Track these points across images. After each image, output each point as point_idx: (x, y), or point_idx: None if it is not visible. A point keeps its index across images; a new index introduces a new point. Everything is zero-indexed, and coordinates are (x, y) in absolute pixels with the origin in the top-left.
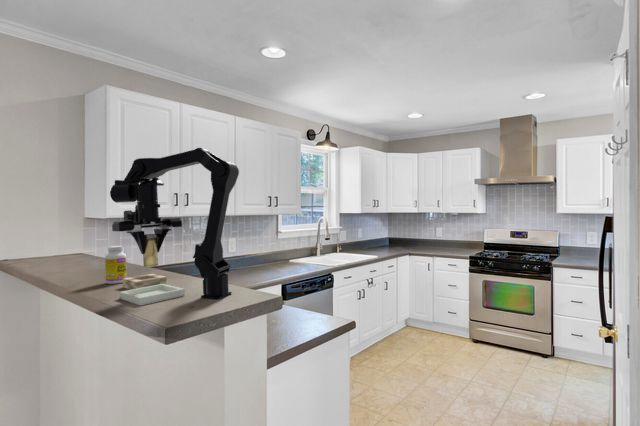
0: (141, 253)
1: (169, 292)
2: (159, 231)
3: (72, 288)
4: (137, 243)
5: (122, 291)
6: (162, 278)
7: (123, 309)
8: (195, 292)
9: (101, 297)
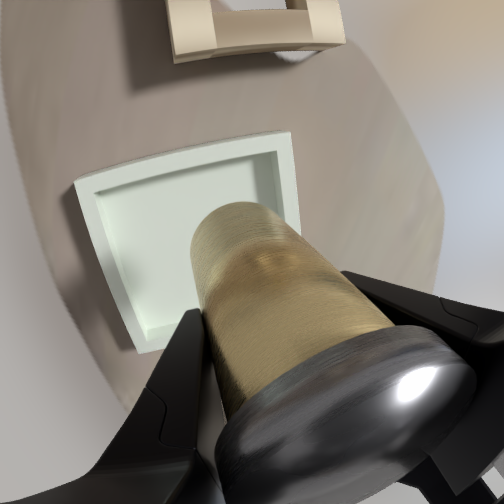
0: (184, 314)
1: None
2: (472, 449)
3: None
4: (151, 397)
5: (84, 184)
6: (323, 44)
7: (91, 348)
8: (342, 270)
9: (26, 94)
